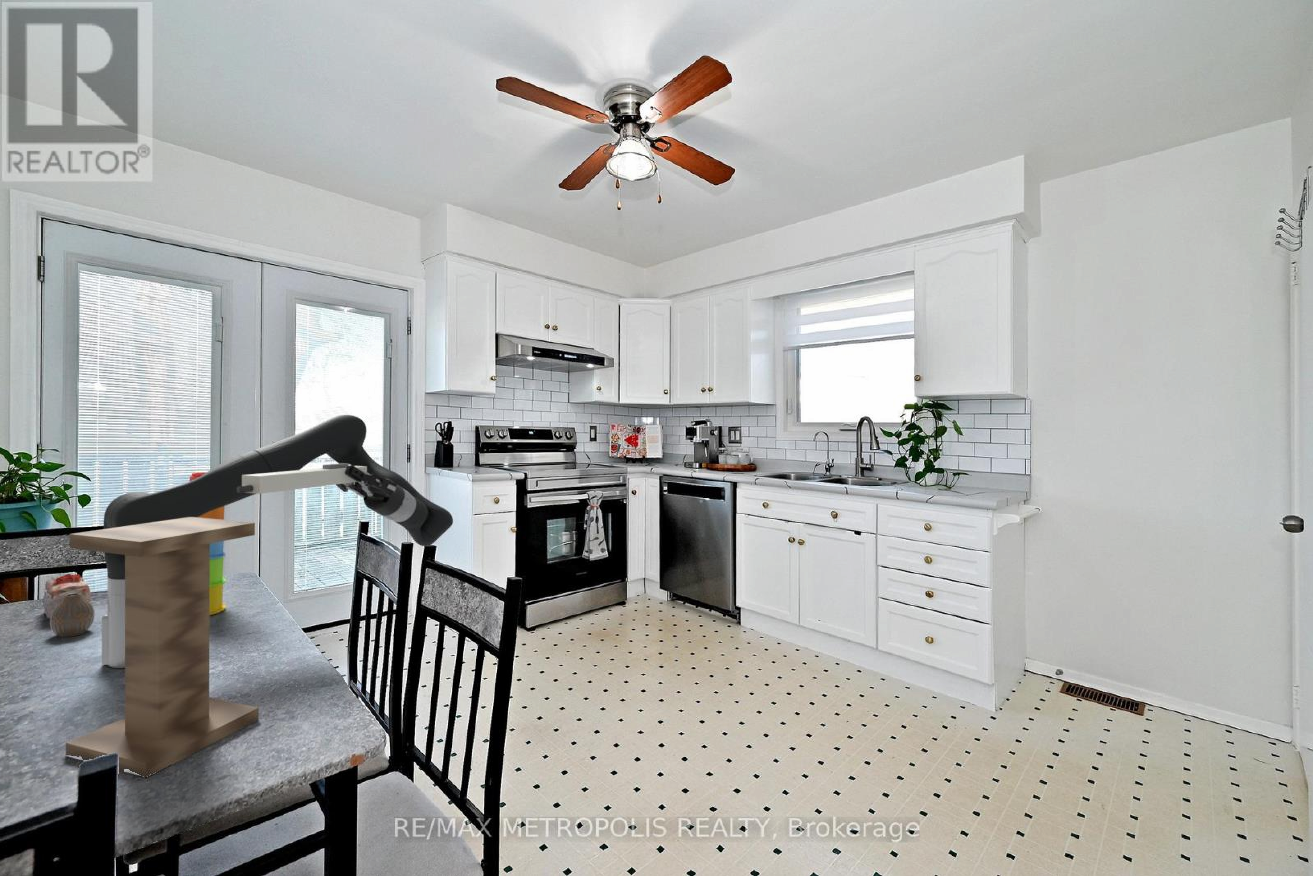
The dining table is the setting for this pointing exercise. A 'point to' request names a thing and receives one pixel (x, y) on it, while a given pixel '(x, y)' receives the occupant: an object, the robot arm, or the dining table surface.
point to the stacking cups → (215, 561)
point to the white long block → (296, 479)
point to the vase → (72, 616)
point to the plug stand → (165, 644)
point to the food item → (63, 590)
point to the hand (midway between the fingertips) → (338, 468)
